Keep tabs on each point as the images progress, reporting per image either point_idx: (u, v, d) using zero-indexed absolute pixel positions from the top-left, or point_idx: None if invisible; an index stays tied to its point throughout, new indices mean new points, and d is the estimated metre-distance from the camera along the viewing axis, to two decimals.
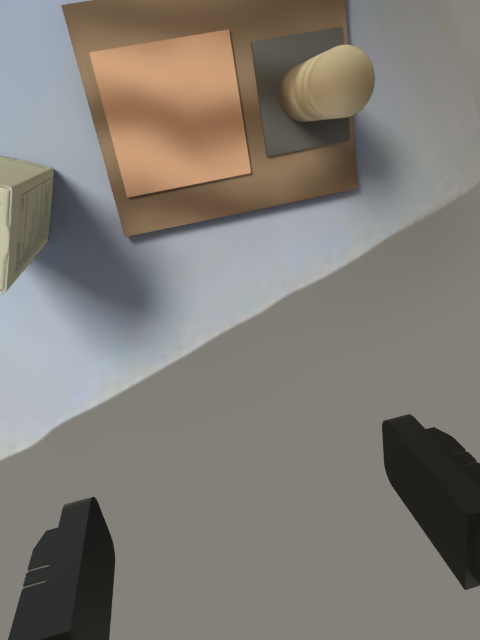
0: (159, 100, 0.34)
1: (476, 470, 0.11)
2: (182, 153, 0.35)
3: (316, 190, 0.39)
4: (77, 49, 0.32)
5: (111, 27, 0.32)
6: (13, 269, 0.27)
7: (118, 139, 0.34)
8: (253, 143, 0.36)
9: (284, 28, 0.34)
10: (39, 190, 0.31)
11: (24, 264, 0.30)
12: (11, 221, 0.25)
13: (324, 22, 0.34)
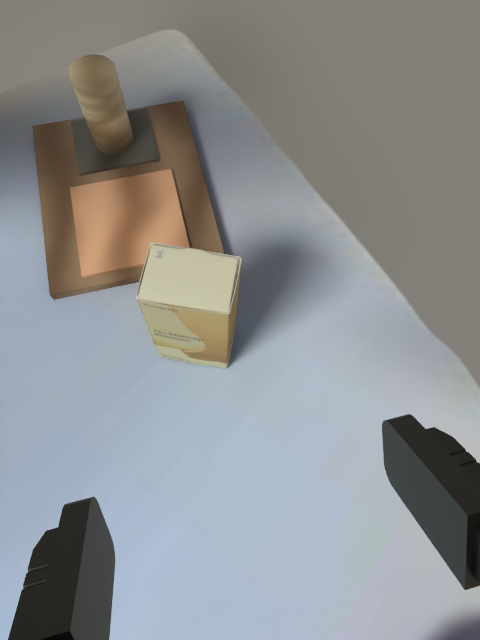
0: (116, 230, 0.43)
1: (476, 470, 0.11)
2: (156, 215, 0.44)
3: (185, 126, 0.48)
4: (79, 286, 0.41)
5: (65, 262, 0.42)
6: None
7: (145, 258, 0.42)
8: (149, 170, 0.46)
9: (71, 155, 0.47)
10: None
11: None
12: (178, 247, 0.30)
13: (68, 132, 0.48)
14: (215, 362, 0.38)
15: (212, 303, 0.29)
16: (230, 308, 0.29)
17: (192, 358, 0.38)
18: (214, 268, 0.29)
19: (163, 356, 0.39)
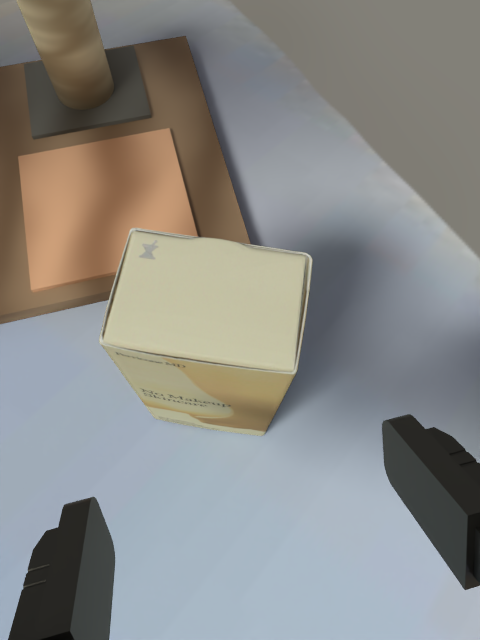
0: (87, 218, 0.28)
1: (476, 470, 0.11)
2: (147, 195, 0.29)
3: (188, 70, 0.33)
4: (28, 305, 0.26)
5: (8, 269, 0.27)
6: None
7: None
8: (137, 130, 0.31)
9: (22, 112, 0.32)
10: None
11: None
12: (186, 236, 0.15)
13: (19, 80, 0.33)
14: (245, 430, 0.23)
15: (259, 350, 0.14)
16: (297, 361, 0.14)
17: (208, 423, 0.23)
18: (260, 277, 0.14)
19: (160, 418, 0.24)
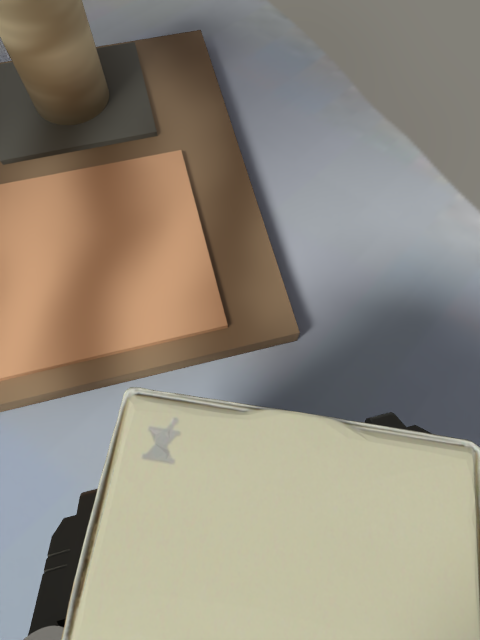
0: (70, 275, 0.21)
1: None
2: (152, 242, 0.21)
3: (205, 74, 0.26)
4: None
5: None
6: None
7: (129, 337, 0.20)
8: (139, 152, 0.24)
9: None
10: None
11: None
12: (233, 402, 0.08)
13: None
14: None
15: None
16: None
17: None
18: (388, 504, 0.07)
19: None
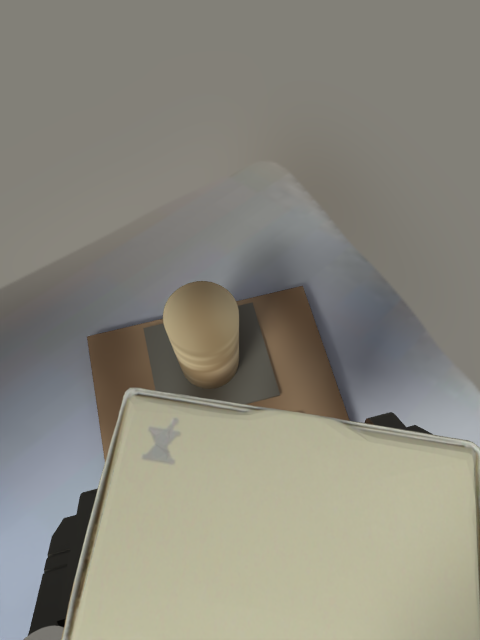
0: None
1: None
2: None
3: (310, 332, 0.33)
4: None
5: None
6: None
7: None
8: None
9: (147, 389, 0.31)
10: None
11: None
12: (233, 403, 0.08)
13: (140, 347, 0.32)
14: None
15: None
16: None
17: None
18: (389, 505, 0.07)
19: None
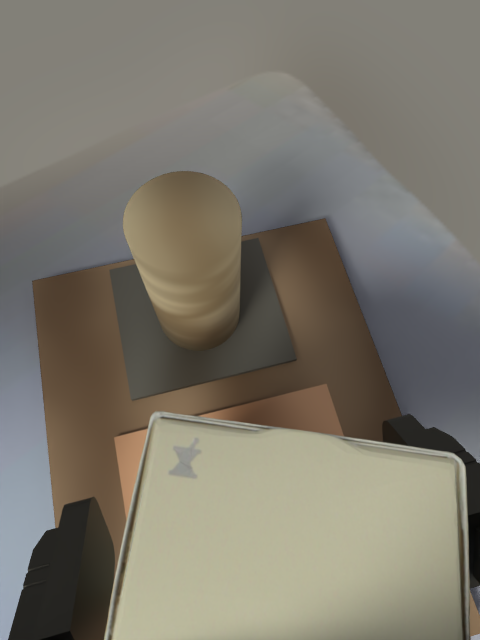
0: None
1: (476, 470, 0.11)
2: None
3: (337, 277, 0.24)
4: None
5: None
6: None
7: None
8: (278, 383, 0.22)
9: (112, 351, 0.22)
10: None
11: None
12: (245, 423, 0.09)
13: (104, 295, 0.24)
14: None
15: None
16: None
17: None
18: (382, 510, 0.08)
19: None
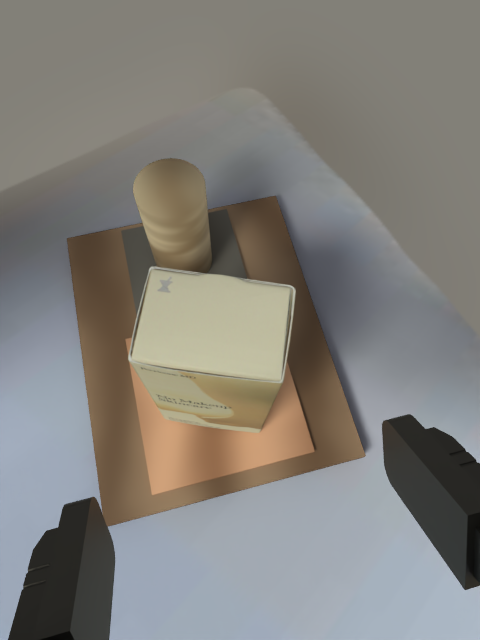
0: None
1: (476, 470, 0.11)
2: None
3: (282, 236, 0.34)
4: (149, 509, 0.27)
5: (125, 468, 0.28)
6: None
7: (245, 461, 0.28)
8: None
9: (123, 285, 0.32)
10: None
11: None
12: (194, 272, 0.19)
13: (117, 248, 0.34)
14: (244, 428, 0.27)
15: (254, 364, 0.17)
16: (283, 373, 0.17)
17: (212, 423, 0.27)
18: (254, 306, 0.18)
19: (170, 419, 0.28)
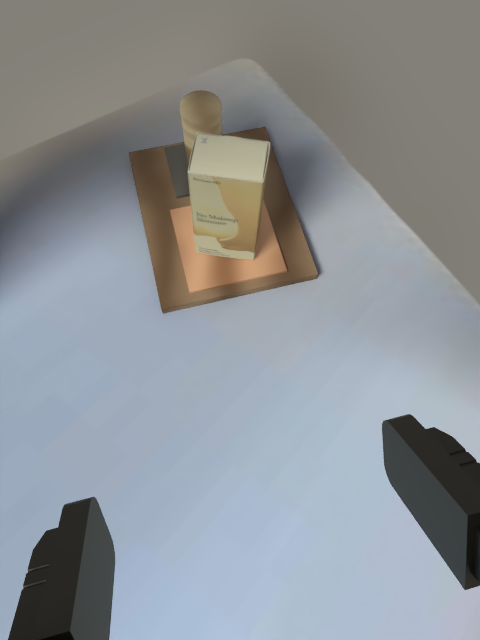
0: None
1: (476, 470, 0.11)
2: None
3: None
4: (187, 301, 0.45)
5: (173, 279, 0.46)
6: None
7: (245, 275, 0.46)
8: None
9: (167, 180, 0.51)
10: None
11: None
12: (218, 135, 0.37)
13: (162, 158, 0.52)
14: (244, 252, 0.45)
15: (249, 174, 0.36)
16: (263, 178, 0.36)
17: (225, 248, 0.45)
18: (249, 149, 0.36)
19: (199, 250, 0.46)
